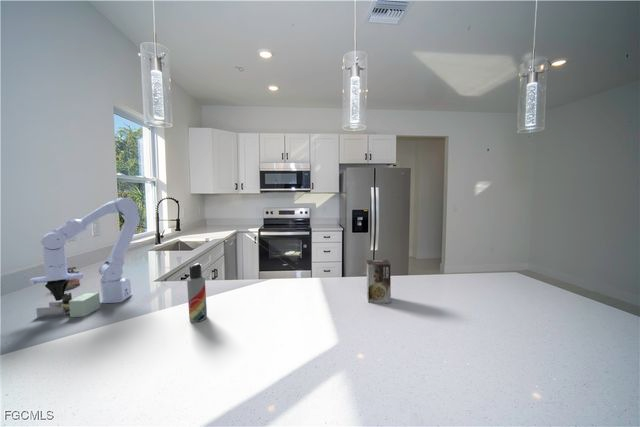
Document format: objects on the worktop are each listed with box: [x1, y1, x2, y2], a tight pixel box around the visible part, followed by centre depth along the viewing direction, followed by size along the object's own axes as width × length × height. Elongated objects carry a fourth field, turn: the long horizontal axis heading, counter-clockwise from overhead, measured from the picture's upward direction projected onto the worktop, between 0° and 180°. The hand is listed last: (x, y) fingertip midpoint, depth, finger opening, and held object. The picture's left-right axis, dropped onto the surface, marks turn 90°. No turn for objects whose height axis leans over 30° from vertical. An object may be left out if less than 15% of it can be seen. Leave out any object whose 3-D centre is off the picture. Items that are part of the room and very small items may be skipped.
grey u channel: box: [35, 301, 70, 319], centre depth 96 cm, size 9×5×4 cm, turn 96°
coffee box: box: [366, 259, 392, 304], centre depth 104 cm, size 9×6×16 cm
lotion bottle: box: [186, 263, 208, 323], centre depth 90 cm, size 6×6×20 cm
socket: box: [69, 292, 101, 318], centre depth 97 cm, size 5×7×6 cm
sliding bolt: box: [60, 292, 73, 311], centre depth 96 cm, size 9×3×6 cm, turn 96°
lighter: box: [65, 265, 81, 290], centre depth 122 cm, size 8×3×10 cm, turn 143°
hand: (59, 299), depth 95 cm, fingers closed
